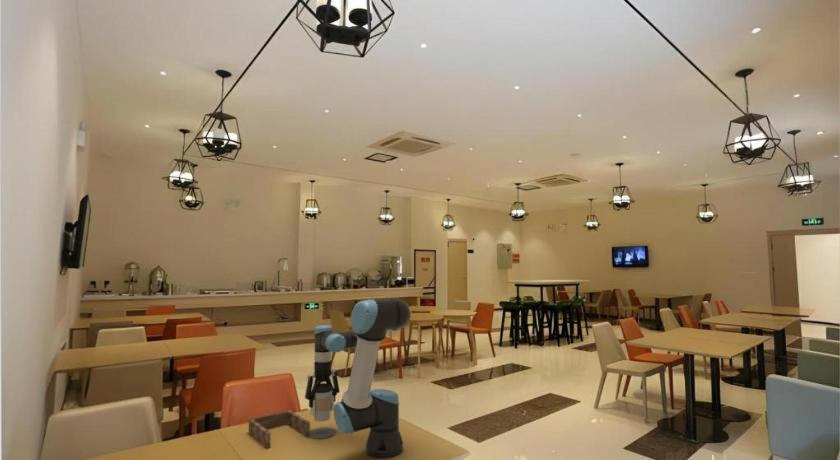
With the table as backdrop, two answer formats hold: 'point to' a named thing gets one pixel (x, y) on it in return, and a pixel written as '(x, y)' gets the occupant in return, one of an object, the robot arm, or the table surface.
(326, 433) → the coaster
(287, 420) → the brown rectangular open frame
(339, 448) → the table surface
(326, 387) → the coffee cup
